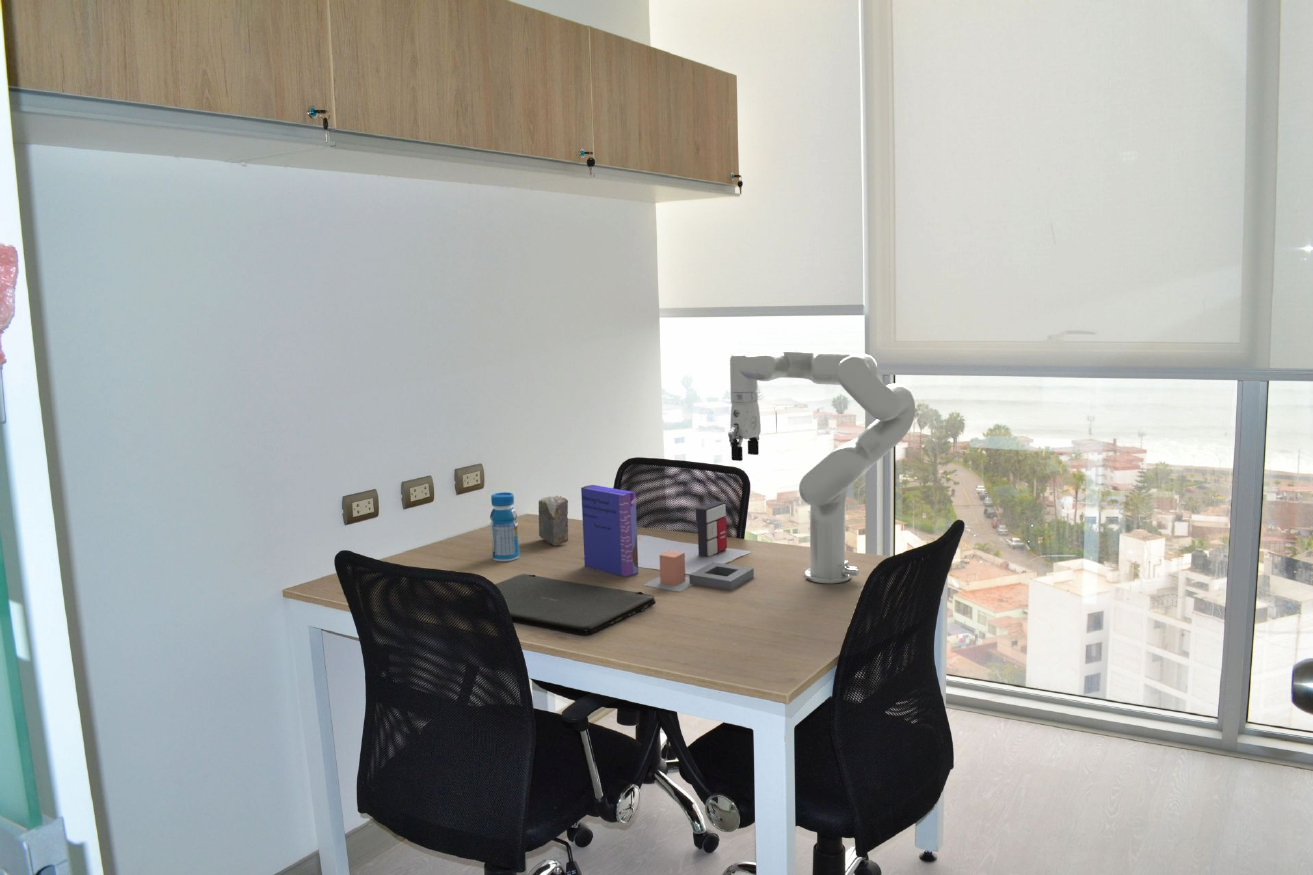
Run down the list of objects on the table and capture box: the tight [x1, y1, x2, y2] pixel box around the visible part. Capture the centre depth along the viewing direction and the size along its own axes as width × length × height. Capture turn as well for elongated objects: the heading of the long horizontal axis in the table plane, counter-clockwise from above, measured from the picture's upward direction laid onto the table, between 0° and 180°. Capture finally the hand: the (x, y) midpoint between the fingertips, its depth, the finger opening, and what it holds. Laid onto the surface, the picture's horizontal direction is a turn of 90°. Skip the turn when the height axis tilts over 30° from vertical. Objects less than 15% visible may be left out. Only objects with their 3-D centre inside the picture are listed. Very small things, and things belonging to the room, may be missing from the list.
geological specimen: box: [538, 495, 569, 546], centre depth 314 cm, size 11×6×15 cm, turn 33°
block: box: [659, 550, 686, 586], centre depth 268 cm, size 5×5×8 cm
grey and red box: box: [695, 500, 728, 558], centre depth 296 cm, size 11×4×15 cm, turn 143°
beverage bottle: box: [489, 492, 520, 562], centre depth 297 cm, size 8×8×20 cm
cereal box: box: [580, 484, 639, 578], centre depth 281 cm, size 17×5×24 cm, turn 47°
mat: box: [642, 575, 695, 593], centre depth 269 cm, size 12×12×1 cm
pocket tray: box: [688, 561, 755, 591], centre depth 269 cm, size 13×13×3 cm
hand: (745, 457), depth 276 cm, fingers open, 9 cm apart
